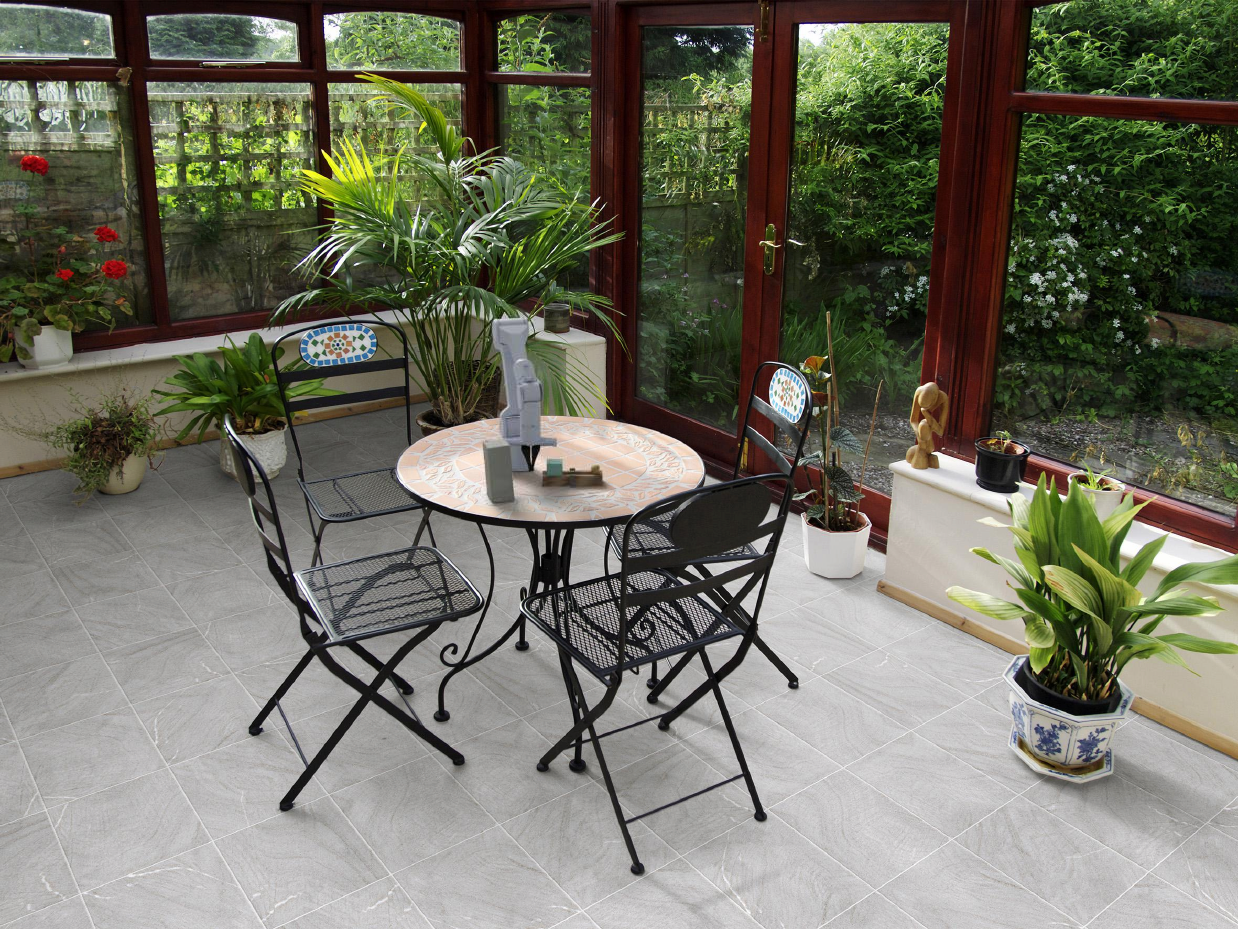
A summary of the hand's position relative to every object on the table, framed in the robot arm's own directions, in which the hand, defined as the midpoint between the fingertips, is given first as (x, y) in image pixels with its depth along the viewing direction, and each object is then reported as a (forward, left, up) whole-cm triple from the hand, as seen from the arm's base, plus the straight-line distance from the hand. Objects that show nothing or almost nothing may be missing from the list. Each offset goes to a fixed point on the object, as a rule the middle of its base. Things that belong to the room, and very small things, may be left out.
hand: (531, 470), depth 312 cm
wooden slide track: (+12, 0, -4) cm, 12 cm away
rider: (+7, 0, -2) cm, 7 cm away
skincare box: (-8, -11, -4) cm, 15 cm away
